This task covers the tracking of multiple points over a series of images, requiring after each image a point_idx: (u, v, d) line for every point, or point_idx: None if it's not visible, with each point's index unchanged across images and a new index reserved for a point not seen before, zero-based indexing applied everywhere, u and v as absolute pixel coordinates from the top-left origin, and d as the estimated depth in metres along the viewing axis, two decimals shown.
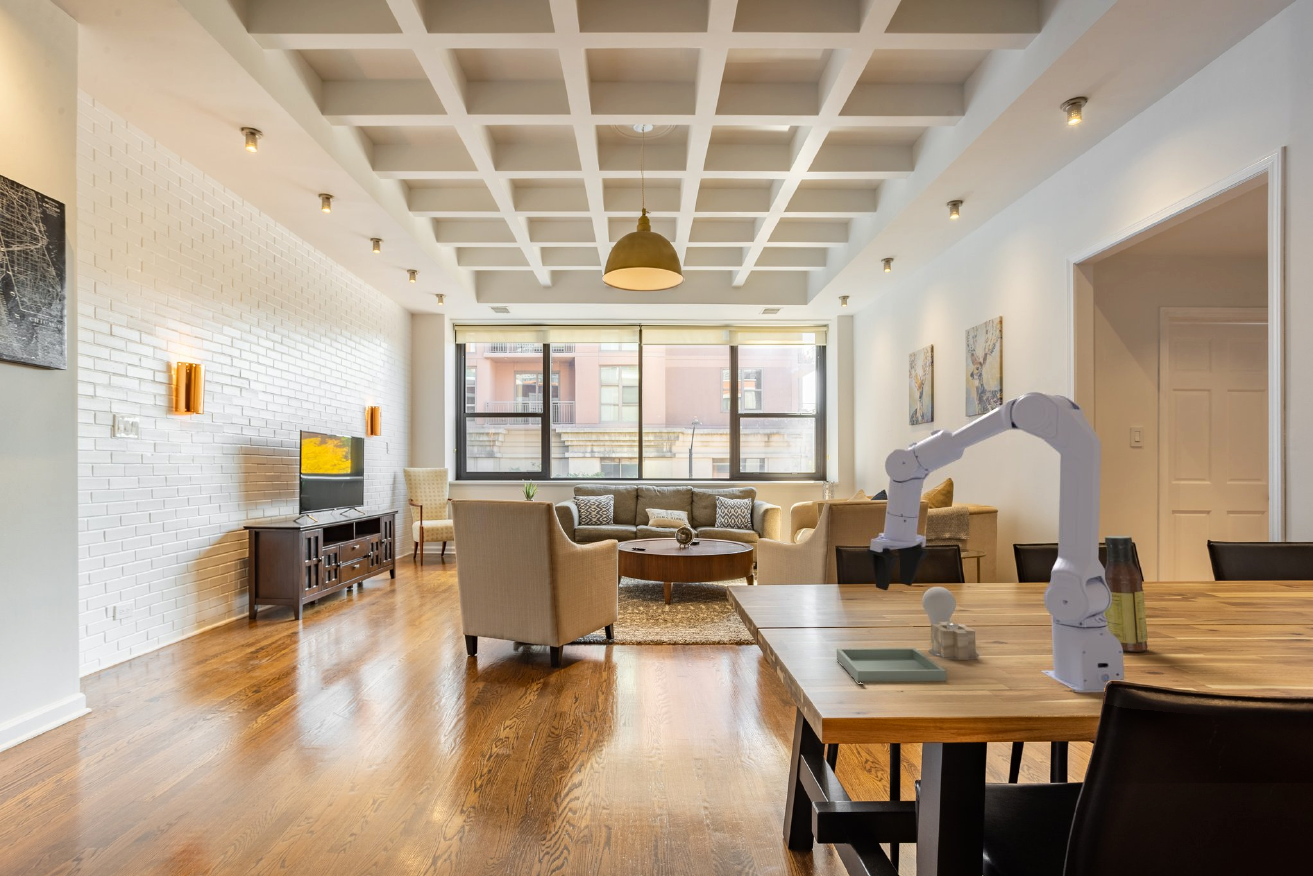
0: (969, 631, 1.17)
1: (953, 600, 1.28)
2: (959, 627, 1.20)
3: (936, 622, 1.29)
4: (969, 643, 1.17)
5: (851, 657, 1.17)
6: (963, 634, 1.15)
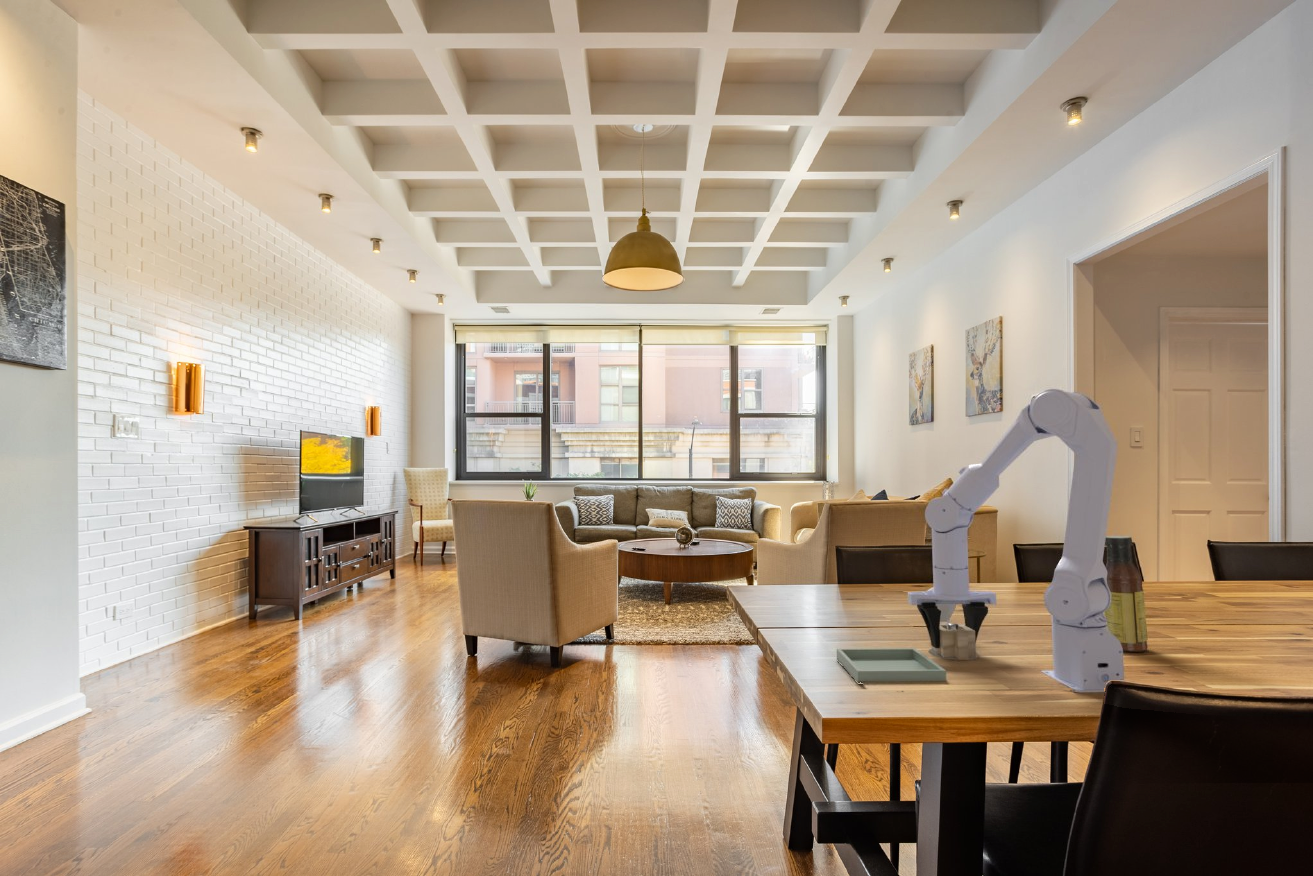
0: (969, 631, 1.17)
1: None
2: (959, 627, 1.20)
3: None
4: (969, 643, 1.17)
5: (851, 657, 1.17)
6: (963, 634, 1.15)
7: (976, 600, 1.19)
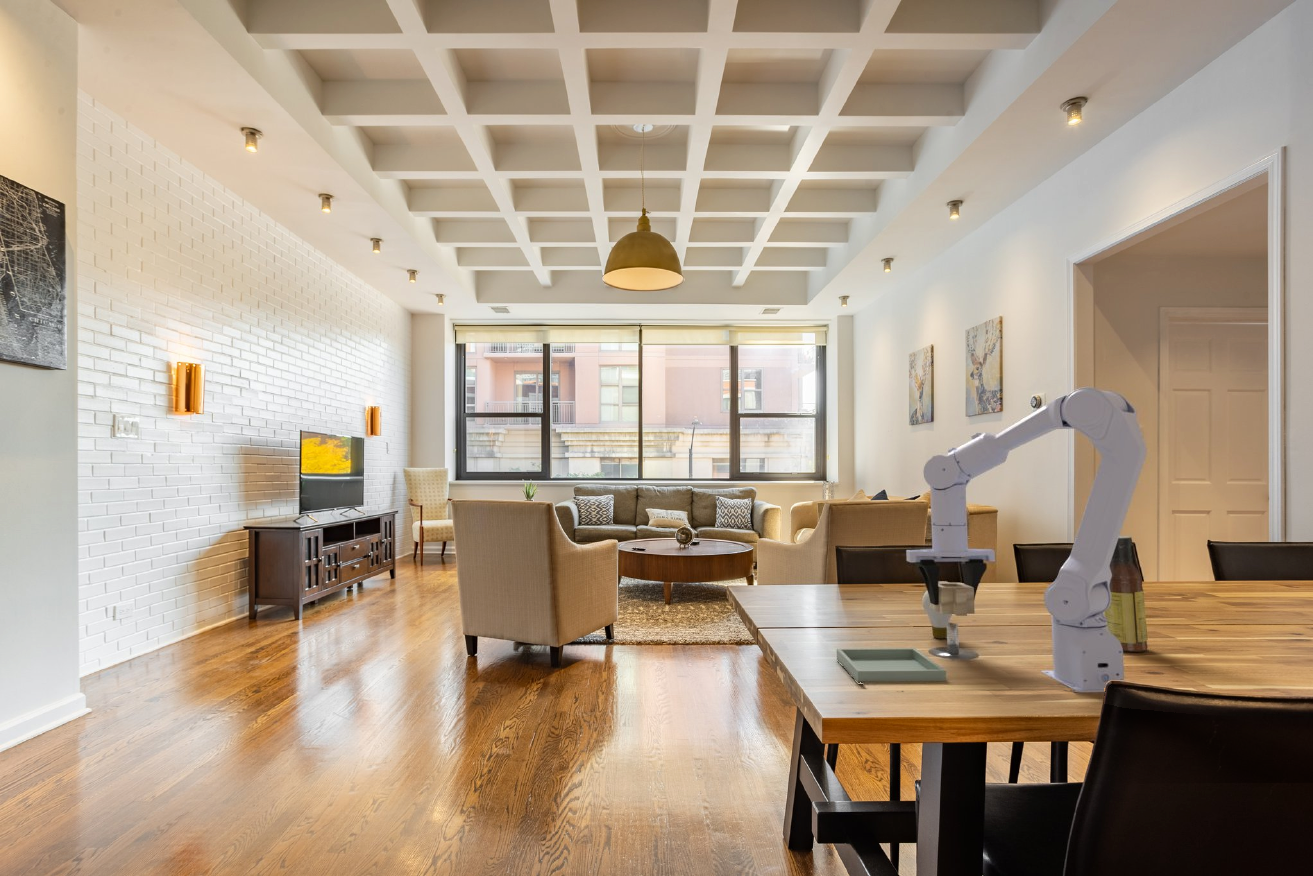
0: (968, 588, 1.17)
1: None
2: (958, 585, 1.21)
3: (936, 622, 1.29)
4: (968, 600, 1.17)
5: (851, 657, 1.17)
6: (962, 590, 1.16)
7: (975, 557, 1.20)
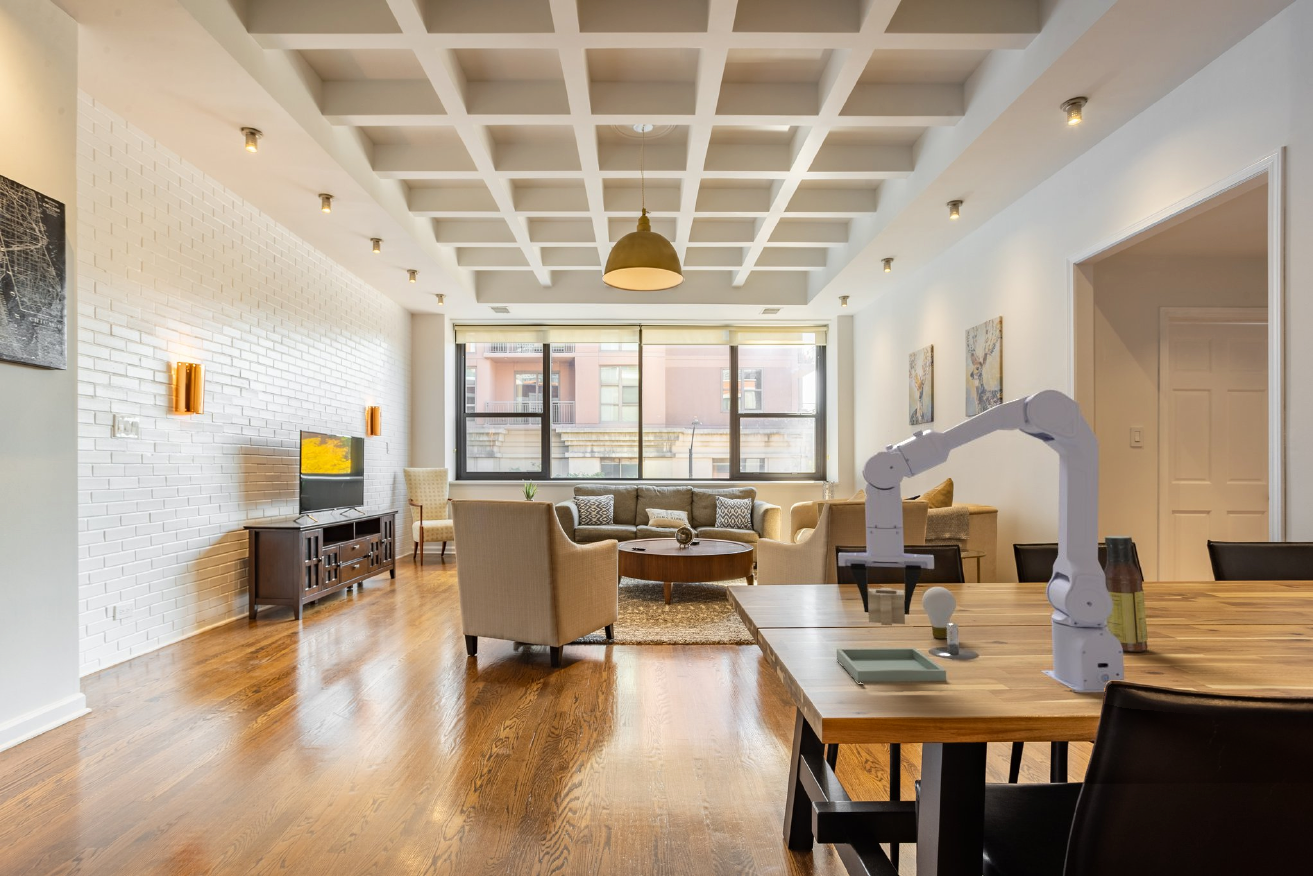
0: (897, 596, 1.08)
1: (953, 600, 1.28)
2: (896, 593, 1.12)
3: (936, 622, 1.29)
4: (897, 608, 1.08)
5: (851, 657, 1.17)
6: (886, 598, 1.07)
7: (912, 563, 1.10)
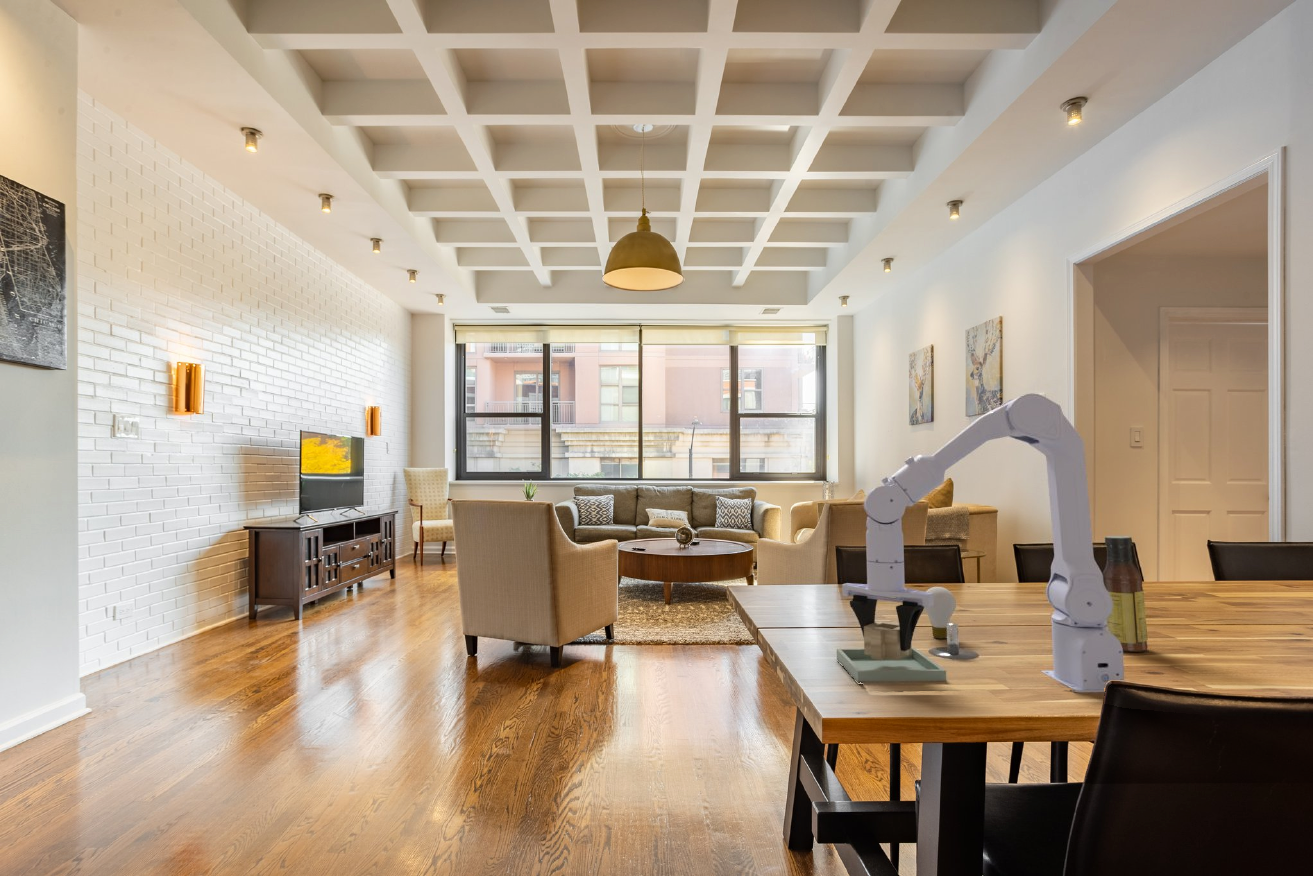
0: (890, 631, 1.08)
1: (953, 600, 1.28)
2: (899, 628, 1.11)
3: (936, 622, 1.29)
4: (890, 644, 1.08)
5: (851, 657, 1.17)
6: (875, 632, 1.08)
7: (910, 599, 1.08)
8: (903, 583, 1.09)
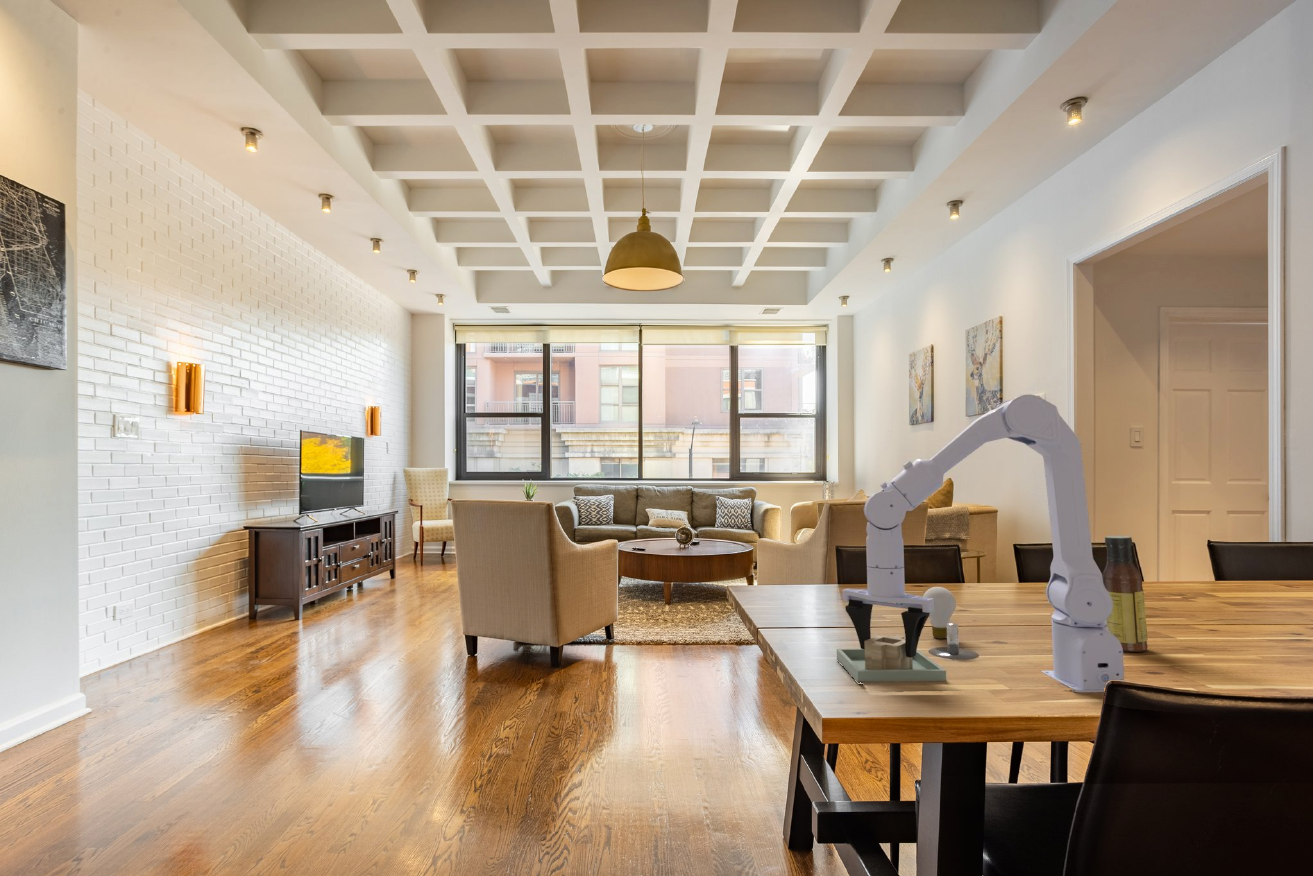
0: (891, 646, 1.08)
1: (953, 600, 1.28)
2: None
3: (936, 622, 1.29)
4: (890, 659, 1.08)
5: (851, 657, 1.17)
6: (876, 647, 1.08)
7: (910, 605, 1.08)
8: (903, 589, 1.09)
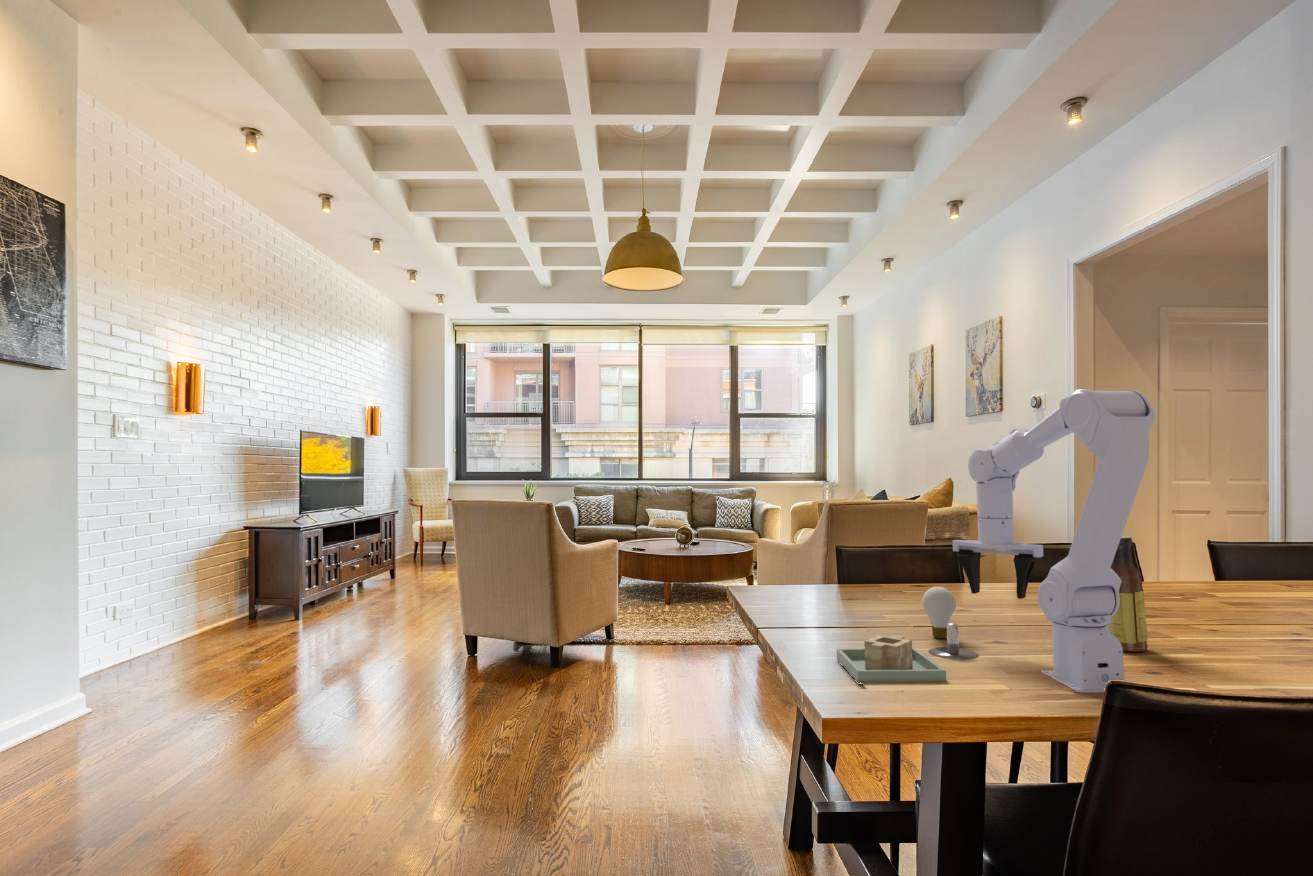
0: (891, 646, 1.08)
1: (953, 600, 1.28)
2: None
3: (936, 622, 1.29)
4: (890, 659, 1.08)
5: (851, 657, 1.17)
6: (876, 647, 1.08)
7: (1021, 552, 1.19)
8: (1013, 537, 1.20)
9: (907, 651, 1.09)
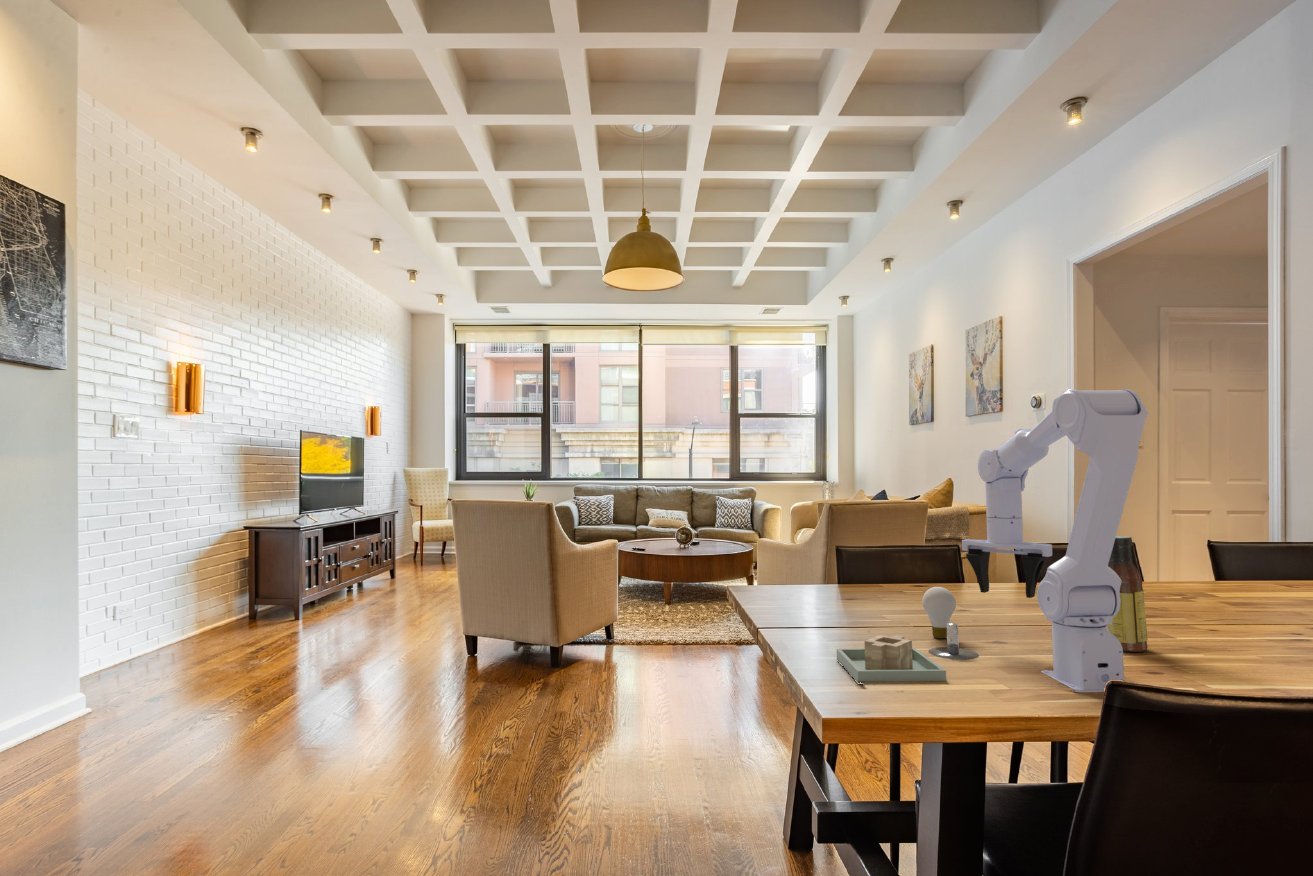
0: (891, 646, 1.08)
1: (953, 600, 1.28)
2: None
3: (936, 622, 1.29)
4: (890, 659, 1.08)
5: (851, 657, 1.17)
6: (876, 647, 1.08)
7: (1030, 551, 1.20)
8: (1022, 537, 1.21)
9: (907, 651, 1.09)
